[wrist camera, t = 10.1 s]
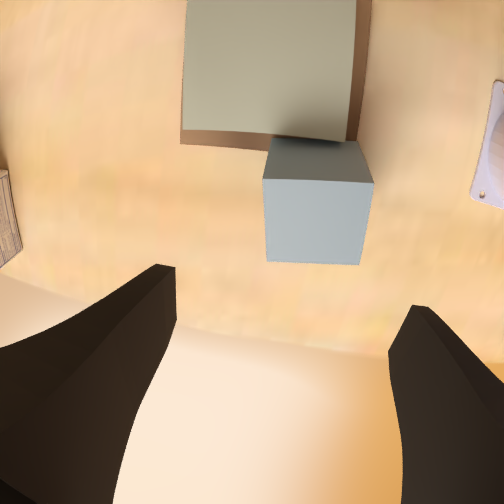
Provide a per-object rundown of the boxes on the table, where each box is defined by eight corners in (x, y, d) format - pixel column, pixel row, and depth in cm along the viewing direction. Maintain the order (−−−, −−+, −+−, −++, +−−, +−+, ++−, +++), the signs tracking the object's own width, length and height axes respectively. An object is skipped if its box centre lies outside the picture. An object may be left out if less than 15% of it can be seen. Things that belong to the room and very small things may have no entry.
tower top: (351, -3, 12) (356, -11, 10) (341, 137, 15) (344, 142, 14) (197, -10, 12) (188, -17, 11) (191, 125, 16) (182, 129, 15)
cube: (357, 141, 15) (374, 183, 12) (349, 212, 18) (359, 265, 15) (271, 138, 16) (262, 178, 13) (274, 209, 19) (266, 261, 16)
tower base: (366, 4, 13) (371, -2, 11) (348, 157, 17) (352, 163, 16) (198, -9, 13) (190, -15, 12) (188, 139, 18) (180, 144, 17)
